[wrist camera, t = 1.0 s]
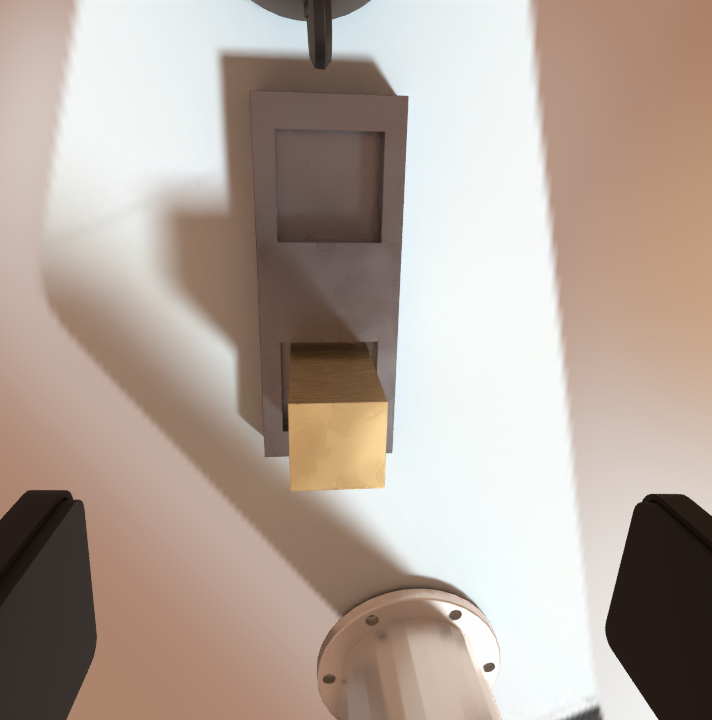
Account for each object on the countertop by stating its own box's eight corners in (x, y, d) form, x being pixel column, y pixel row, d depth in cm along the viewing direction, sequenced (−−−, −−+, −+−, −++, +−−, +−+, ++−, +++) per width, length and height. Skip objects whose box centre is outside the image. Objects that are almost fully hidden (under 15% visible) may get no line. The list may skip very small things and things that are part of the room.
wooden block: (363, 410, 31) (384, 487, 23) (292, 411, 30) (290, 491, 23) (365, 342, 30) (387, 402, 22) (290, 343, 29) (288, 404, 22)
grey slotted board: (386, 436, 32) (392, 452, 30) (266, 439, 32) (264, 456, 30) (400, 101, 26) (408, 96, 24) (253, 96, 26) (250, 90, 24)
